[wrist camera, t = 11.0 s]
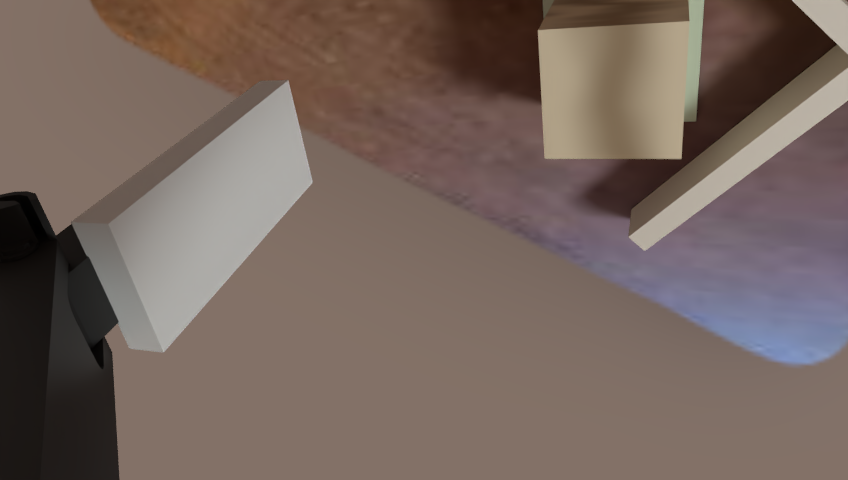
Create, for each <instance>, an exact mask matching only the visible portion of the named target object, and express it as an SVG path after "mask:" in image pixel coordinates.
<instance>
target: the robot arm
mask: <svg viewBox="0 0 848 480" xmlns="http://www.w3.org/2000/svg"><path fill="white" fill-rule="evenodd" d="M312 183H313V182H312V177H311V173H310V169H309V165H308V160H307V156H306V152H305V148H304V144H303V140H302V135H301V131H300V127H299V123H298V119H297V115H296V111H295V106H294V102H293V98H292V94H291V90H290V86H289V81H288V80H277V81H259V82H258V83H257V84H255V85H254V86H253V87H251V88H250V89H249V90H247V91H246V92H245V93H243V94H242V95H241V96H239V97H238V98H237V99H235V100H234V101H233V102H231V103H230V104H229V105H227V106H226V107H225V108H223V109H222V110H221V111H219V112H218V113H217V114H215V115H214V116H213V117H211V118H210V119H209V120H207V121H206V122H204V124H202V125H200V126H199V127H198V128H197V129H195V130H194V131H192V132H191V133H190V134H188V135H187V136H186V137H184V138H183V139H182V140H180V141H179V142H178V143H176V144H175V145H174V146H172V147H171V148H170V149H168V150H167V151H166V152H164V153H163V154H162V155H160V156H159V157H158V158H156V159H155V160H154V161H152V162H151V163H150V164H148V165H147V166H145V167H144V168H143V169H142V170H140V171H139V172H137V173H136V174H135V175H133V176H132V177H131V178H129V179H128V180H127V181H125V182H124V183H123V184H121V185H120V186H119V187H117V188H116V189H115V190H113V191H112V192H111V193H109V194H108V195H107V196H105V197H104V198H103V199H101V200H100V201H99V202H97V203H96V204H95V205H93V206H92V207H91V208H89V209H88V210H87V211H85V212H84V213H83V214H81V215H80V216H79V217H77V218H76V219H74V220H73V221H72V222H71V225H70V226H68V227H67V228H66V229H65V230H63V231H62V232H60V233H59V234H58V235H55V233H54V231H53V229H52V227H51V225H50V223H49V221H48V219H47V217H46V215H45V213H44V210H43V208H42V206H41V204H40V202H39V200H38V198H37V196H36V194H35V193H31V192H12V193H7V194H2V195H0V480H119V465H118V450H117V432H116V413H115V395H114V377H113V361H112V351H111V349H110V347H109V345H108V343H107V341H106V339H105V337H104V336H105V335H106V334H107V333H108V332H109V331H110V330H111V329H112V328H113V327H114V326H115V325H116V324H117V323H118V325H119V327H120V329H121V331H122V333H123V335H124V338H125V340H126V342H127V344H128V346H129V348H130V349H138V350H147V351H155V352H164V351H165V350H166V349H167V348H168V347H169V346H170V345H171V343H172V342H173V341H174V340H175V339H176V338H177V337H178V335H179V334H180V333H181V332H182V331H183V329H185V327H186V326H187V325H188V324H189V323H190V322H191V321H192V320H193V318H194V317H195V316H196V315H197V314H198V313H199V311H200V310H201V309H202V308H203V307H204V306H205V305H206V304H207V302H208V301H209V300H210V299H211V298H212V297H213V296H214V294H215V293H216V292H217V291H218V290H219V289H220V288H221V286H222V285H223V284H224V283H225V282H226V281H227V280H228V278H229V277H230V276H231V275H232V274H233V273H234V272H235V270H236V269H237V268H238V267H239V266H240V265H241V264H242V262H243V261H244V260H245V259H246V258H247V257H248V256H249V254H250V253H251V252H252V251H253V250H254V249H255V248H256V246H257V245H258V244H259V243H260V242H261V241H262V240H263V239H264V237H265V236H266V235H267V234H268V233H269V231H271V229H272V228H273V227H274V226H275V225H276V224H277V222H278V221H279V220H280V219H281V218H282V217H283V216H284V214H285V213H286V212H287V211H288V210H289V209H290V208H291V206H292V205H293V204H294V203H295V202H296V201H297V200H298V198H299V197H300V196H301V195H302V194H303V193H304V192H305V191H306V189H307V188H308V187H309V186H310V185H311V184H312Z"/></svg>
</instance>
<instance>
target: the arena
mask: <svg viewBox="0 0 848 480" xmlns="http://www.w3.org/2000/svg"><path fill="white" fill-rule="evenodd" d="M792 1H793V2H794V3H795V4H796V5H797V6H798V7H799V8H800V9H801V10H802V11H803V12H804V13H805V14H806V15H807V16H809V17H810V18H811V19H812V20H813V21H814V22H815V23H816V24H817V25H818V26H819V27H820V28H821V29H822V30H823V31H824V32H825V33H826V34H827V35H828V36H829V37H830V38H831V39H832V40H833V41H834V42H835V43H836V44H837V45H836V46H835V47H833V48H832V49H831V50H830V51H828V52H827V53H826V54H825V55H823V56H822V57H821V58H820V59H818V60H817V61H816V62H815V63H813V64H812V65H811V66H810V67H808V68H807V69H806V70H805V71H803V72H802V73H801V74H800V75H798V76H797V77H796V78H795V79H793V80H792V81H791V82H790V83H788V84H787V85H786V86H785V87H783V88H782V89H781V90H780V91H778V92H777V93H776V94H775V95H773V96H772V97H771V98H770V99H768V100H767V101H766V102H765V103H763V104H762V105H761V106H760V107H758V108H757V109H756V110H755V111H753V112H752V113H751V114H750V115H748V116H747V117H746V118H745V119H743V120H742V121H741V122H740V123H738V124H737V125H736V126H735V127H733V128H732V129H731V130H730V131H728V132H727V133H726V134H725V135H723V136H722V137H721V138H720V139H718V140H717V141H716V142H715V143H713V144H712V145H711V146H710V147H708V148H707V149H706V150H705V151H703V152H702V153H701V154H700V155H698V156H697V157H696V158H695V159H693V160H692V161H691V162H690V163H688V164H687V165H686V166H685V167H683V168H682V169H681V170H680V171H678V172H677V173H676V174H675V175H673V176H672V177H671V178H670V179H668V180H667V181H666V182H665V183H663V184H662V185H661V186H660V187H658V188H657V189H656V190H655V191H653V192H652V193H651V194H650V195H648V196H647V197H646V198H645V199H643V200H642V201H641V202H640V203H638V204H637V205H636V206H635V207H633V208H632V209H631V217H630V227H629V236H628V237H629V238H630V239H631V240H632V241H634V242H635V243H636V244H637V245H638V246H639V247H641V248H642V249H643V250H644V251H645V250H647V249H648V248H649V247H651V246H652V245H653V244H655V243H656V242H658V241H659V240H660V239H662V238H663V237H664V236H666V235H667V234H668V233H670V232H671V231H672V230H674V229H675V228H676V227H678V226H679V225H680V224H682V223H683V222H685V221H686V220H687V219H689V218H690V217H691V216H693V215H694V214H695V213H697V212H698V211H699V210H701V209H702V208H703V207H705V206H706V205H707V204H709V203H710V202H711V201H713V200H714V199H716V198H717V197H718V196H720V195H721V194H722V193H724V192H725V191H726V190H728V189H729V188H730V187H732V186H733V185H734V184H736V183H737V182H738V181H740V180H741V179H743V178H744V177H745V176H747V175H748V174H749V173H751V172H752V171H753V170H755V169H756V168H757V167H759V166H760V165H761V164H763V163H764V162H765V161H767V160H768V159H770V158H771V157H772V156H774V155H775V154H776V153H778V152H779V151H780V150H782V149H783V148H784V147H786V146H787V145H788V144H790V143H791V142H792V141H794V140H795V139H796V138H798V137H799V136H801V135H802V134H803V133H805V132H806V131H807V130H809V129H810V128H811V127H813V126H814V125H815V124H817V123H818V122H819V121H821V120H822V119H823V118H825V117H826V116H828V115H829V114H830V113H832V112H833V111H834V110H836V109H837V108H838V107H840V106H841V105H842V104H844V103H845V102H846V101H848V2H847V1H846V0H792ZM553 2H554V0H543V19H544V18H545V16H546V15H547V13H548V11H549V9H550V7H551V6H552V4H553ZM688 2H689V20H690V22H689V39H688V56H687V73H686V90H685V107H684V122H695V121H696V115H697V100H698V85H699V70H700V55H701V40H702V25H703V10H704V0H688Z"/></svg>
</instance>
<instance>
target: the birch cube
mask: <svg viewBox="0 0 848 480" xmlns="http://www.w3.org/2000/svg"><path fill="white" fill-rule="evenodd" d="M689 22H690V20H689V2H688V0H554V2H553V4H552V6H551V7H550V9H549V11H548V13H547V15H546V16H545V18H544V20H543V22H542V23H541V25H540V27H539V29H538V43H539V62H540V80H541V99H542V118H543V136H544V155H545V159H681V158H682V141H683V124H684V107H685V90H686V73H687V56H688V39H689Z"/></svg>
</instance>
